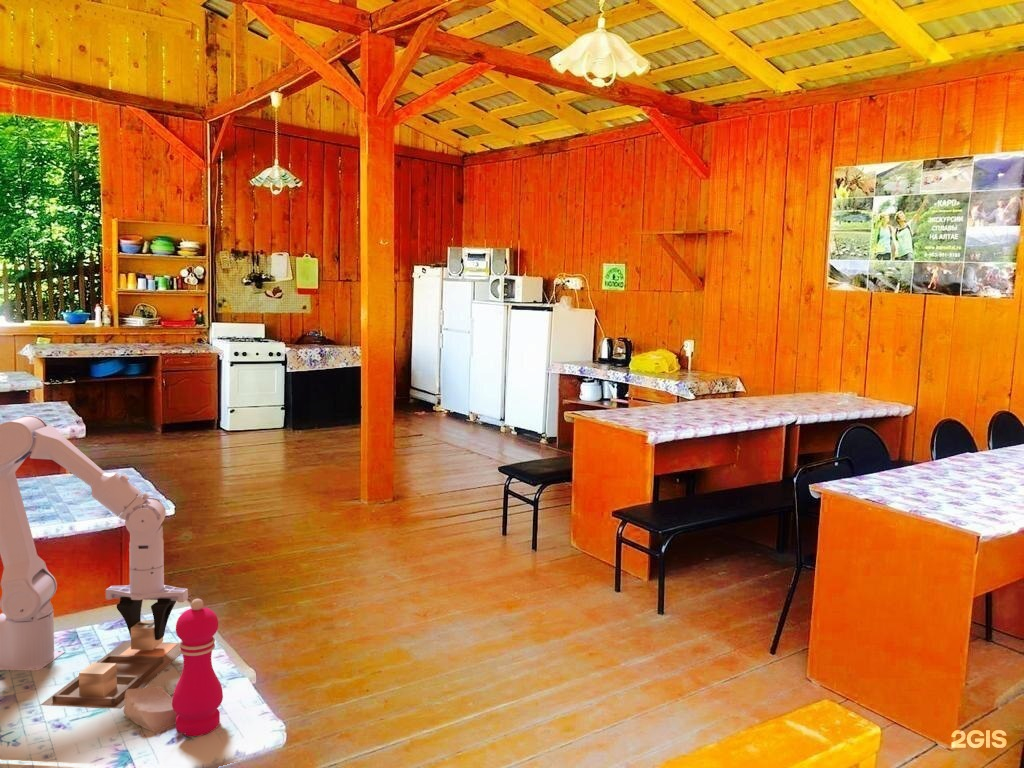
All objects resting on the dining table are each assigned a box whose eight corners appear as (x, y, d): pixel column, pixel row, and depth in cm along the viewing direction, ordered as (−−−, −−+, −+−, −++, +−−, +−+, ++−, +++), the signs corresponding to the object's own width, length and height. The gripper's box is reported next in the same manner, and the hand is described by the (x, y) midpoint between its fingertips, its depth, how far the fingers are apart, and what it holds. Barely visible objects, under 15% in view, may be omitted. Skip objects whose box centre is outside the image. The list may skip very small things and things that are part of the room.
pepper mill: (173, 743, 114) (172, 610, 112) (171, 720, 120) (170, 594, 119) (225, 732, 117) (225, 603, 115) (220, 710, 123) (220, 588, 122)
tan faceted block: (173, 748, 119) (187, 715, 118) (131, 751, 114) (146, 718, 114) (155, 705, 126) (168, 674, 125) (115, 706, 122) (129, 675, 121)
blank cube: (79, 696, 126) (78, 673, 125) (93, 685, 130) (93, 662, 129) (103, 697, 125) (103, 674, 125) (116, 686, 129) (116, 663, 129)
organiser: (40, 707, 123) (40, 698, 123) (124, 643, 148) (124, 635, 148) (120, 711, 122) (120, 702, 122) (191, 646, 147) (191, 638, 147)
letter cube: (130, 649, 141) (130, 627, 141) (142, 640, 145) (142, 619, 145) (152, 650, 141) (152, 628, 141) (163, 641, 145) (162, 620, 145)
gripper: (95, 571, 139) (96, 644, 140) (175, 574, 138) (175, 647, 139) (117, 559, 146) (118, 629, 147) (192, 562, 145) (193, 632, 146)
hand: (147, 637), depth 143 cm, fingers closed on letter cube, 4 cm apart
